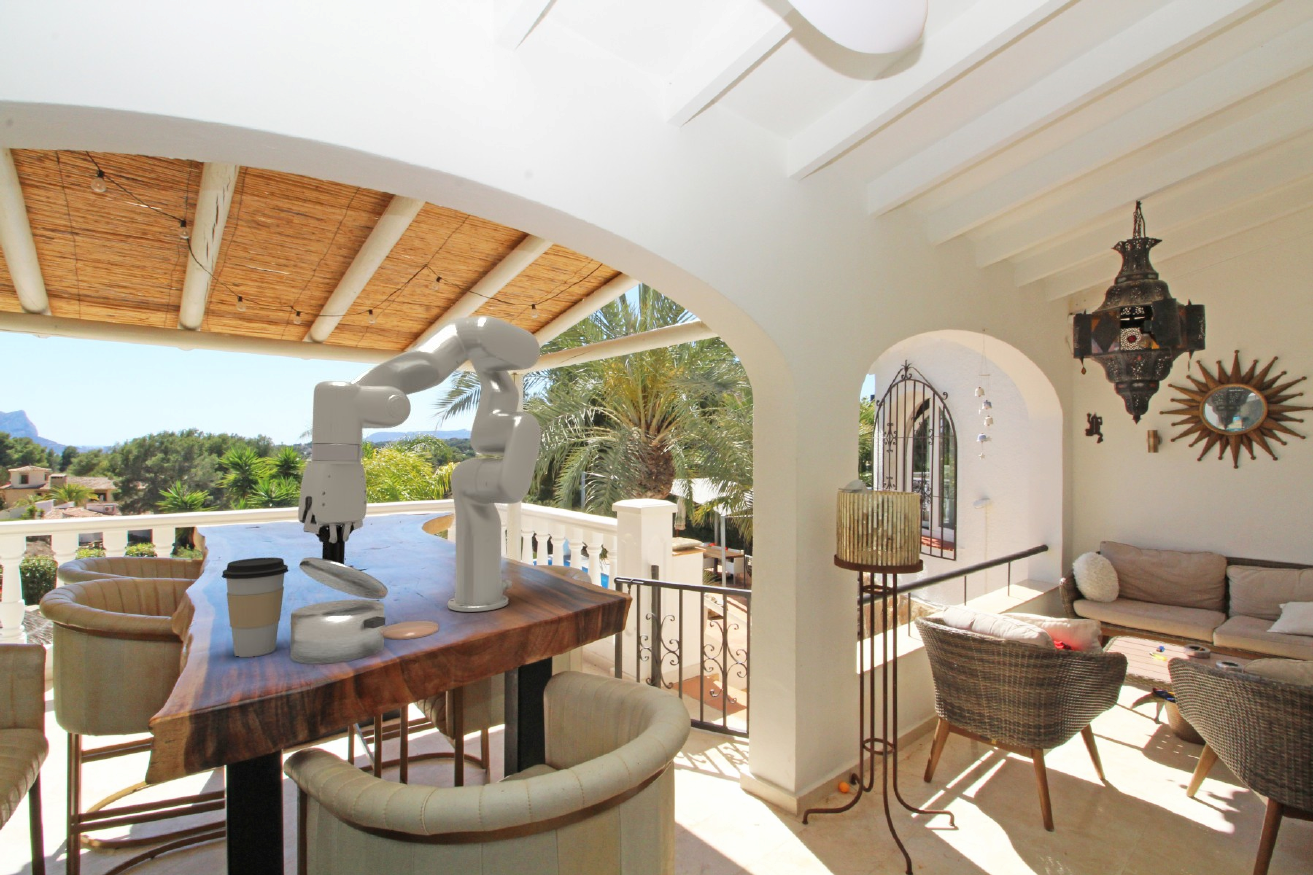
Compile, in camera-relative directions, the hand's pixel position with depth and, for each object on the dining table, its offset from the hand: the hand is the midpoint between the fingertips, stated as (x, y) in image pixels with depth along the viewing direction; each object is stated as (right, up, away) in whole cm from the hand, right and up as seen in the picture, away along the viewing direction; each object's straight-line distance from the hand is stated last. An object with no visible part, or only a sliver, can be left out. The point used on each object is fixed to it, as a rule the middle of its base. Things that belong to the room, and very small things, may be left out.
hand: (333, 565), depth 106 cm
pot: (+1, -14, +1) cm, 14 cm away
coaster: (+8, -14, +12) cm, 20 cm away
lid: (+1, -3, +2) cm, 4 cm away
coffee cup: (-13, -15, 0) cm, 19 cm away
